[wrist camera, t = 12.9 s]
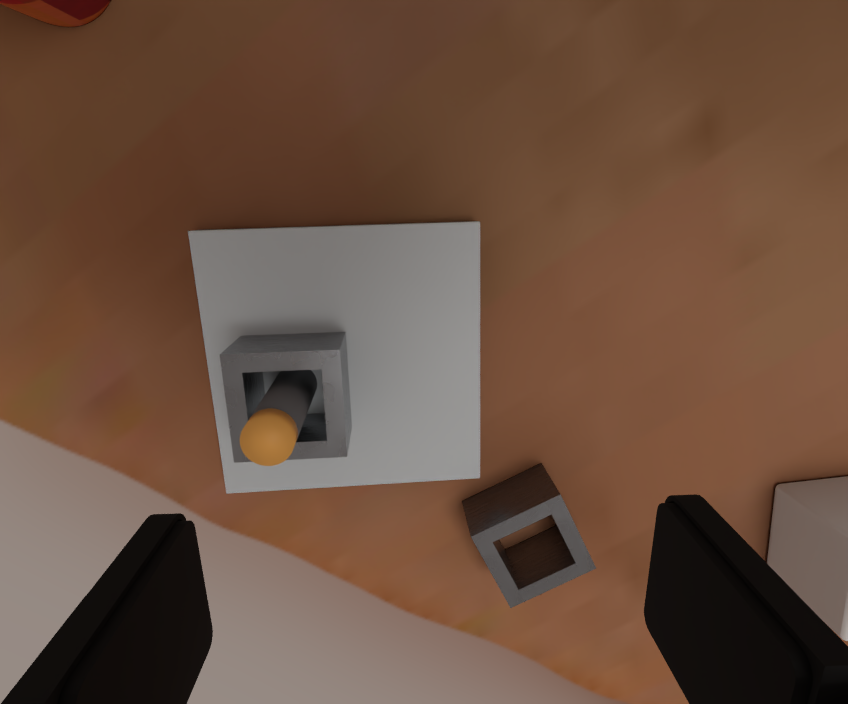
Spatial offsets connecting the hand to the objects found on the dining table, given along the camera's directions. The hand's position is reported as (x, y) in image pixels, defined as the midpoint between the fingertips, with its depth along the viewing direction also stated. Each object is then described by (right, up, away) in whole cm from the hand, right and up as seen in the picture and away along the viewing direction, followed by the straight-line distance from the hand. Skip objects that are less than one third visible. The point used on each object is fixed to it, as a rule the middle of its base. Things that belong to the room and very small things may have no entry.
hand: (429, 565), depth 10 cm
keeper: (-5, +4, +22) cm, 23 cm away
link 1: (-8, +2, +20) cm, 22 cm away
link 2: (+6, -7, +26) cm, 28 cm away
